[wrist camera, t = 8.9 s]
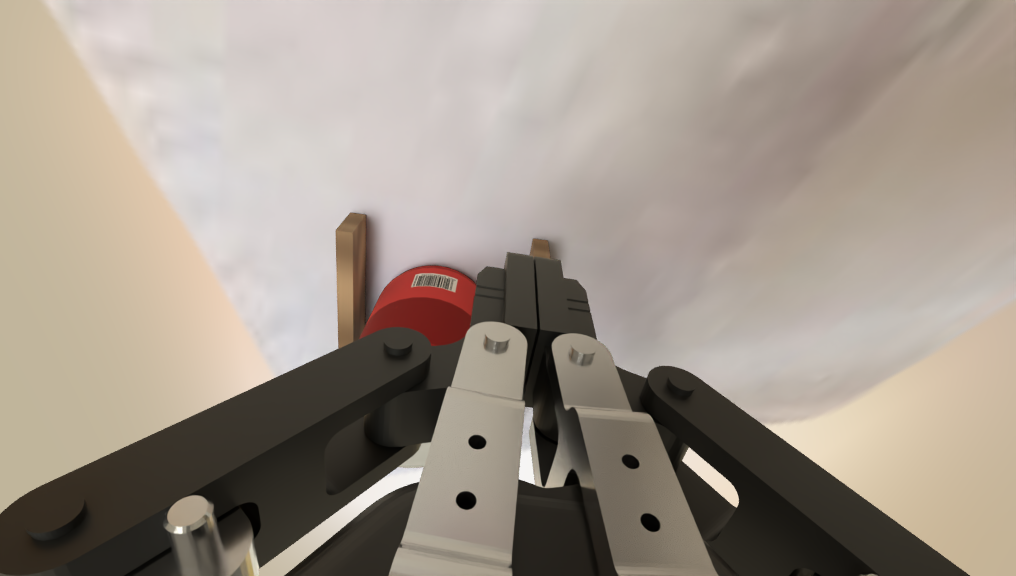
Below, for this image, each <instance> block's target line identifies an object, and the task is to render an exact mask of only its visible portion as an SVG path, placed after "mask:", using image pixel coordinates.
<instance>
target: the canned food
mask: <svg viewBox="0 0 1016 576" xmlns="http://www.w3.org/2000/svg"><path fill="white" fill-rule="evenodd" d="M475 290H476V284H475V283H474V282H473V281H472V280H471V279H470V278H468V277H467V276H466V275H464V274H462V273H460V272H459V271H456V270H454V269H451V268H448V267H442V266H422V267H416V268H413V269H411V270H408V271H406V272H404V273H403V274H401V275H399V276H398V277H396V278H395V279H393V280H392V281H391V282H390V283H389V284H388V285H387V286H386V287H385V288H384V290H383V292H382V293H381V295H380V297H379V299H378V301H377V303H376V305H375V307H374V309H373V311H372V313H371V315H370V317H369V319H368V321H367V323H366V325H365V327H364V330H363V332H362V334H361V336H360V338H359V339H361V338H363V337H365V336H367V335H369V334H372V333H374V332H376V331H378V330H381V329H385V328H390V327H404V328H410V329H413V330H416V331H418V332H420V333H422V334H423V335H424V336H426V337H427V338H428V340H429V341H430V343H431V346H439V345H447V344H451V343H454V342H457V341H459V340H461V339H462V338H464V337H465V336H466V333H467V331H468V330H469V329H470V323H471V316H472V310H473V303H474V296H475ZM430 444H431V442H429V443H422V444H421V446H420V448H419V450H418V451H417V453H416V454H415V455H413V456H412V457H411V458H409V459H408V460H407V461H405V462H404V463H403V464H401V465H400V466H399V467H403V468H420V467H424V465H425V461H426V458H427V455H428V451H429V448H430Z"/></svg>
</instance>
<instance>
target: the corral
mask: <svg viewBox="0 0 1016 576" xmlns="http://www.w3.org/2000/svg"><path fill="white" fill-rule="evenodd" d="M530 256H533V259H534V257H535V256H536V257H542V258H549V259H551V258H550V252H549V245H548V241H547V240H539V239H533V241H532V246H531V252H530ZM336 264H337V306H338V348H341V347H343V346H346V345H348V344H350V343H352V342H354V341H356V340H359V338H360V336H361V334H362V332H363V330H364V327H365V269H366V215H364V214H357V213H350V214H349V215H348V216H347V217H346V218H345V220H344V221H343V222H342V223H341V225H340V226H339V227H338V228H337V229H336Z"/></svg>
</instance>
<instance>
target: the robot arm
mask: <svg viewBox="0 0 1016 576" xmlns="http://www.w3.org/2000/svg"><path fill="white" fill-rule="evenodd" d="M525 407H532V408H533V418H532V422H531V426H530V430H529V437H530V446H531V454H532V463H533V471H534V480H535V485H533V484H531V483H528V482H525V481H522V480H519V467H520V456H521V445H522V433H523V422H524V411H525ZM429 442H431V444H430V448H429V451H428V455H427V458H426V461H425V465H424V468H423V471H422V475H421V478H420V482H418V483H413V484H410V485H408V486H404V487H402V488H399V489H397V490H395V491H393V492H391V493H389V494H387V495H385V496H384V497H382V498H381V499H379V500H378V501H376V502H375V503H373V504H372V505H371V506H369V507H368V508H366V509H365V510H364V511H363V512H362V513H360V514H359V515H358V516H357V517H356V518H354V519H353V520H352V521H351V522H349V523H348V524H347V525H346V526H344V527H343V528H342V529H341V530H340V531H338V532H337V533H336V534H335V535H333V536H332V537H331V538H330V539H329V540H327V541H326V542H325V543H324V544H323V545H321V546H320V547H319V548H318V549H316V550H315V551H314V552H313V553H312V554H310V555H309V556H308V557H307V558H306V559H304V560H303V561H302V562H301V563H299V564H298V565H297V566H296V567H295V568H293V569H292V570H291V571H290V572H288V573H287V574H286V575H285V576H970V575H968V574H967V573H966V572H964V571H963V570H962V569H960V568H959V567H957V566H956V565H954V564H953V563H952V562H951V561H949V560H948V559H946V558H945V557H944V556H942V555H941V554H940V553H938V552H937V551H935V550H934V549H933V548H931V547H930V546H929V545H927V544H926V543H924V542H923V541H922V540H920V539H919V538H918V537H916V536H915V535H913V534H912V533H911V532H909V531H908V530H907V529H905V528H904V527H902V526H901V525H900V524H898V523H897V522H896V521H894V520H893V519H891V518H890V517H889V516H887V515H886V514H885V513H883V512H882V511H880V510H879V509H878V508H876V507H875V506H874V505H872V504H871V503H869V502H868V501H867V500H865V499H864V498H862V497H861V496H860V495H858V494H857V493H856V492H854V491H853V490H852V489H850V488H849V487H847V486H846V485H845V484H843V483H842V482H841V481H839V480H838V479H836V478H835V477H834V476H832V475H831V474H830V473H828V472H827V471H826V470H824V469H823V468H821V467H820V466H819V465H817V464H816V463H815V462H813V461H812V460H810V459H809V458H808V457H806V456H805V455H804V454H802V453H801V452H799V451H798V450H797V449H795V448H794V447H792V446H791V445H790V444H788V443H787V442H786V441H784V440H783V439H782V438H780V437H779V436H777V435H776V434H775V433H773V432H772V431H771V430H769V429H768V428H766V427H765V426H764V425H762V424H761V423H760V422H758V421H757V420H755V419H754V418H753V417H751V416H750V415H749V414H747V413H746V412H744V411H743V410H742V409H740V408H739V407H738V406H736V405H735V404H733V403H732V402H731V401H729V400H728V399H727V398H725V397H724V396H722V395H721V394H720V393H718V392H717V391H716V390H714V389H713V388H712V387H710V386H709V385H707V384H706V383H705V382H703V381H702V380H701V379H699V378H698V377H696V376H695V375H693V374H691V373H690V372H688V371H685V370H683V369H680V368H677V367H672V366H659V367H656V368H654V369H652V370H651V371H650V372H649V374H648V376H647V378H644V377H642V376H639V375H636V374H633V373H631V372H628V371H626V370H623V369H621V368H619V367H617V366H616V365H615V364H614V361H613V358H612V355H611V353H610V351H609V350H608V349H607V347H606V346H605V345H603V344H602V343H601V342H599V341H598V340H597V338H596V334H595V329H594V325H593V320H592V316H591V313H590V307H589V304H588V299H587V294H586V290H585V289H584V288H583V287H582V286H581V285H580V284H579V283H578V281H577V280H573V279H567V278H563V272H562V266H561V261H560V260H555V259H549V258H542V257H536V256H535V257H534V259H533V256H529V255H523V254H516V253H510V252H507V256H506V261H505V266H504V269H501V268H494V267H488V266H487V267H485V268H484V269H483V270H482V271H481V272H480V273H479V274H478V277H477V283H476V290H475V296H474V303H473V310H472V316H471V323H470V329H469V330H468V331H467V333H466V336H465V337H464V338H462V339H461V340H459V341H457V342H454V343H451V344H447V345H439V346H431V343H430V341H429V340H428V338H427V337H426V336H424V335H423V334H422V333H420V332H418V331H416V330H413V329H410V328H404V327H390V328H385V329H381V330H378V331H376V332H374V333H372V334H369V335H367V336H365V337H363V338H361V339H359V340H356V341H354V342H352V343H350V344H348V345H346V346H343V347H341V348H339V349H337V350H335V351H333V352H330V353H328V354H326V355H324V356H322V357H319V358H317V359H315V360H313V361H311V362H309V363H306V364H304V365H302V366H300V367H298V368H296V369H293V370H291V371H289V372H287V373H285V374H283V375H280V376H278V377H276V378H274V379H272V380H270V381H267V382H265V383H263V384H261V385H259V386H257V387H254V388H252V389H250V390H248V391H246V392H244V393H241V394H239V395H237V396H235V397H233V398H230V399H229V400H226V401H224V402H222V403H220V404H217V405H215V406H213V407H211V408H209V409H207V410H204V411H202V412H200V413H198V414H196V415H194V416H191V417H189V418H187V419H185V420H183V421H181V422H179V423H176V424H174V425H172V426H170V427H168V428H165V429H163V430H161V431H159V432H157V433H155V434H152V435H150V436H148V437H146V438H144V439H142V440H139V441H137V442H135V443H133V444H131V445H129V446H126V447H124V448H122V449H120V450H118V451H115V452H113V453H111V454H109V455H107V456H105V457H102V458H100V459H98V460H96V461H94V462H92V463H89V464H87V465H85V466H83V467H81V468H79V469H76V470H74V471H72V472H70V473H68V474H66V475H63V476H61V477H59V478H57V479H55V480H53V481H50V482H48V483H46V484H44V485H42V486H40V487H38V488H36V489H34V490H32V491H30V492H29V493H27V494H25V495H24V496H22V497H20V498H19V499H18V500H16V501H15V502H14V503H12V504H11V505H10V506H9V507H8V508H7V509H5V510H4V511H3V512H2V513H1V514H0V576H259V568H260V567H262V566H263V565H265V564H266V563H268V562H269V561H270V560H272V559H273V558H274V557H276V556H277V555H278V554H280V553H281V552H283V551H284V550H285V549H287V548H288V547H289V546H291V545H292V544H294V543H295V542H296V541H298V540H299V539H300V538H302V537H303V536H304V535H306V534H307V533H309V532H310V531H311V530H312V529H314V528H315V527H317V526H318V525H319V524H321V523H322V522H323V521H325V520H326V519H328V518H329V517H330V516H332V515H333V514H334V513H336V512H337V511H339V510H340V509H341V508H343V507H344V506H345V505H347V504H348V503H349V502H351V501H352V500H354V499H355V498H356V497H357V496H359V495H360V494H362V493H363V492H364V491H366V490H367V489H369V488H370V487H371V486H372V485H374V484H375V483H377V482H378V481H379V480H381V479H382V478H384V477H385V476H386V475H388V474H389V473H390V472H392V471H393V470H394V469H396V468H397V467H399V466H400V465H401V464H403V463H404V462H405V461H407V460H408V459H409V458H411V457H412V456H413V455H415V454H416V453H417V451H418V450H419V448H420V446H421V444H422V443H429ZM689 447H690V448H691V449H692V450H693V451H695V452H696V453H697V454H698V455H699V456H700V457H701V458H703V459H704V460H705V461H706V462H707V463H709V464H710V465H711V466H712V467H714V469H716V470H717V471H718V472H719V473H721V474H722V475H723V476H724V477H725V478H726V479H728V480H729V481H730V482H731V483H732V485H733V486H734V487H735V489H736V491H737V493H738V496H739V505H738V507H737V508H736V507H734V506H733V505H731V504H730V503H729V502H728V501H727V500H726V499H725V498H723V497H722V496H721V495H720V494H719V493H718V492H717V491H715V490H714V489H713V488H712V487H711V486H710V485H709V484H707V483H706V482H705V481H704V480H703V479H702V478H701V477H700V476H698V475H697V474H696V473H695V472H694V471H693V470H692V469H690V468H689V467H688V466H687V465H686V464H685V463H684V462H682V459H683V457H684V455H685V453H686V452H687V450H688V448H689Z"/></svg>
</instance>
